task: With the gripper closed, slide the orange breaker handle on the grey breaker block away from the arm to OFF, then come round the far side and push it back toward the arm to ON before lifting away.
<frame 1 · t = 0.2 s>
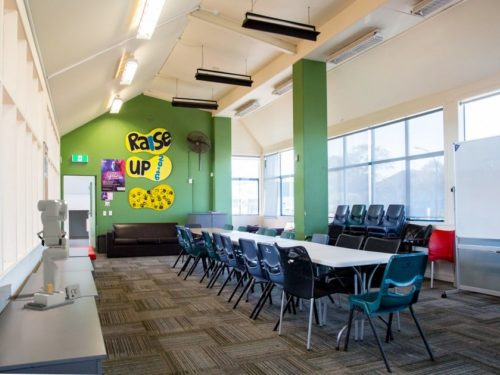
hand: (51, 245, 260), 36 cm above the table, tool pointing down, fingers open, 9 cm apart
electrical switch: (72, 298, 270), on the table
breaker block: (49, 305, 252), on the table
breaker handle: (49, 288, 252), point 10 cm above the table, slide at 0.0 cm
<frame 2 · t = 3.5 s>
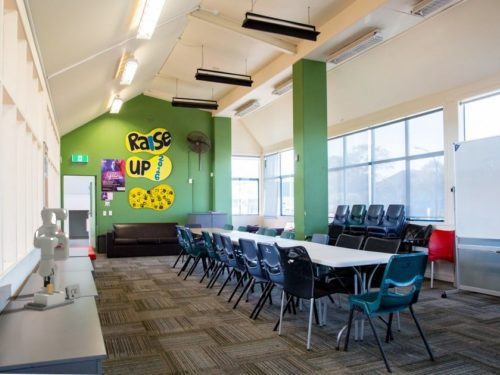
hand: (47, 286, 253), 11 cm above the table, tool pointing down, fingers closed
breaker handle: (49, 288, 252), point 10 cm above the table, slide at 0.3 cm, touching gripper
everything else where it was.
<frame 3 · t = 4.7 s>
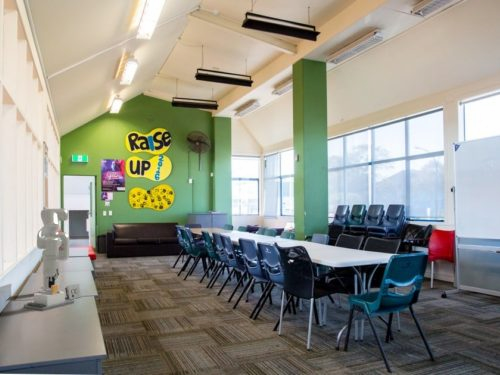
hand: (51, 287, 251), 11 cm above the table, tool pointing down, fingers closed
breaker handle: (54, 289, 250), point 10 cm above the table, slide at 4.6 cm, touching gripper
everything else where it was.
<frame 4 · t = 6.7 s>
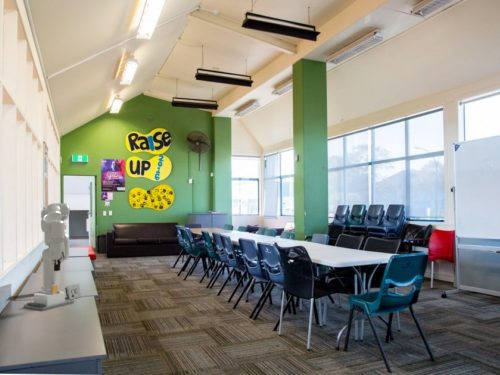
hand: (57, 270, 249), 22 cm above the table, tool pointing down, fingers closed
breaker handle: (54, 289, 250), point 10 cm above the table, slide at 4.5 cm
everything else where it was.
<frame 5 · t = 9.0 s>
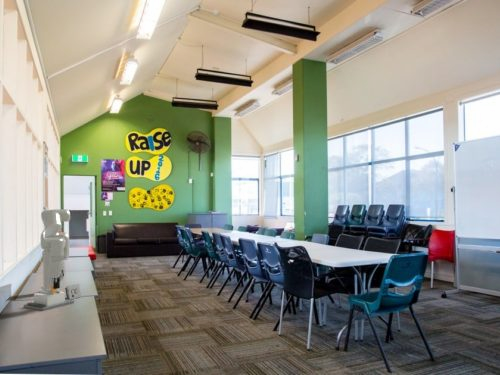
hand: (56, 288, 249), 11 cm above the table, tool pointing down, fingers closed
breaker handle: (53, 289, 251), point 10 cm above the table, slide at 3.8 cm, touching gripper
everything else where it was.
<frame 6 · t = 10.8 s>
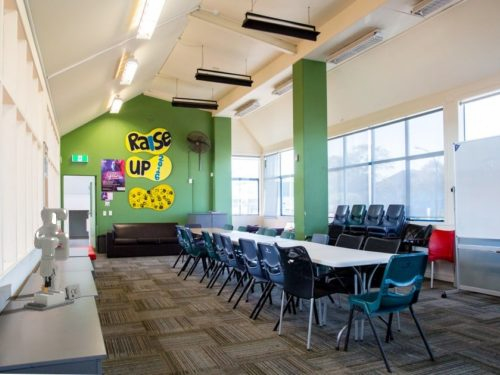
hand: (47, 287, 253), 11 cm above the table, tool pointing down, fingers closed
breaker handle: (45, 287, 254), point 10 cm above the table, slide at -4.5 cm, touching gripper
everything else where it was.
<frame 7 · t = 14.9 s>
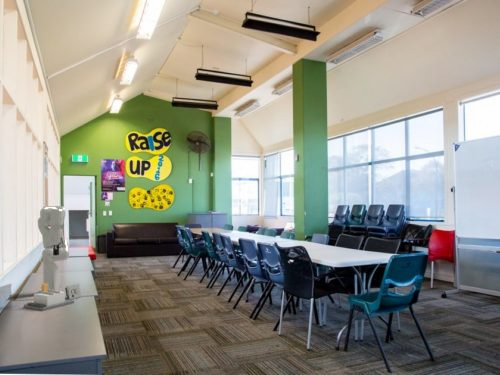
hand: (56, 255, 269), 29 cm above the table, tool pointing down, fingers closed
breaker handle: (44, 287, 254), point 10 cm above the table, slide at -4.5 cm
everything else where it was.
at the end: breaker handle slide at -4.5 cm; electrical switch moved 0.3 cm from its start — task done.
